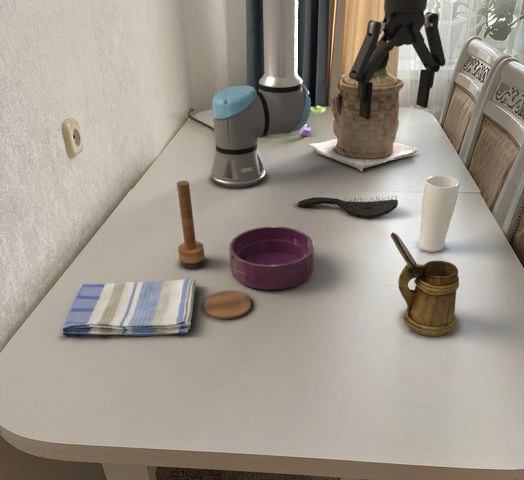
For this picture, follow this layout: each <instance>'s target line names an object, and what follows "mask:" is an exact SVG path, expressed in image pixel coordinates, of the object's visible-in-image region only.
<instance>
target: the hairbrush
mask: <svg viewBox="0 0 524 480" xmlns="http://www.w3.org/2000/svg"><path fill="white" fill-rule="evenodd" d="M381 197H382V198H381ZM381 197H380V196H379V198H378V196H376V197H373V198H372V197H369V200H368V201H367V200H365V198H363V200H362V198H357V199H356V198H354V201H353V200H352V199H351V198H350V197H349V198H348V199H349V200H346V197H344V199H343V200H342V199H340V198H334V197H324V196H322V197H320V196H318V197H316V196H314V197H309V198H304V199H302V200H299V201H298V202H297V206H298V207H302V208H304V207H311V206H318V205H336V206H337V207H339V208H340V209H342V210H343V211H344V212H345V213H347V214H348V215H350V216H353V217H355V218H359V219H374V218H379V217H382V216H385V215H388V214H390V213H391V212H393V211H394V210H395V209H396V208H397V207H398V205H399V200H398V198H397V196H396V195H392V198H390V196H389V195H388V196H385V198H384V197H383V196H381ZM374 198H375V199H374ZM380 198H381V199H380ZM386 198H387V199H386ZM394 198H395V199H394ZM359 199H360V201H359Z"/></svg>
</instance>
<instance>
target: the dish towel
mask: <svg viewBox="0 0 524 480" xmlns="http://www.w3.org/2000/svg"><path fill="white" fill-rule="evenodd" d="M196 284H197V283H196V279H195V278H183V279H175V280H147V281H146V280H145V281H135V282H133V281H131V282H130V281H128V282H127V281H124V282H123V281H122V282H121V281H119V282H113V283H83V284H81V287H80V289H79V291H78V292H77V295H76V296H75V299H74V300H73V301H74V302H73V304H72V306H71V309H70V311H69V314H68V315H67V317H66V320H65V323H64V324H63V327H62V335H63V336H65V337H66V336H69V337H71V336H85V335H96V336H98V335H99V336H108V335H117V336H119V335H120V336H121V335H122V336H139V337H140V336H141V337H144V336H146V337H147V336H160V335H177V334H179V335H181V334H187V333H188V332H189V330H191V325H192V322H191V321H192V318H193V317H192V316H193V310H194V301H195V291H196V286H197V285H196Z"/></svg>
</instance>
